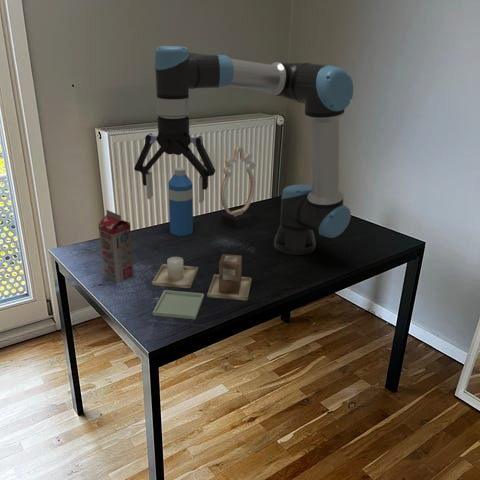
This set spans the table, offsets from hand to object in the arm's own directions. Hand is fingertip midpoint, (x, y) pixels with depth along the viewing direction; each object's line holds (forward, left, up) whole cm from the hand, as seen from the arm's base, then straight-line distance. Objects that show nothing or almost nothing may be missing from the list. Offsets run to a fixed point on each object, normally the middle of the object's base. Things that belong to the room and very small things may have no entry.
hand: (175, 199), depth 123 cm
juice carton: (+23, -14, -33) cm, 43 cm away
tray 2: (0, 0, -33) cm, 33 cm away
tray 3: (-13, -12, -33) cm, 37 cm away
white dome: (+5, -16, -32) cm, 36 cm away
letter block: (-13, -12, -32) cm, 37 cm away
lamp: (-8, -65, -33) cm, 73 cm away
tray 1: (+5, -16, -33) cm, 37 cm away
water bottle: (+12, -53, -33) cm, 63 cm away
